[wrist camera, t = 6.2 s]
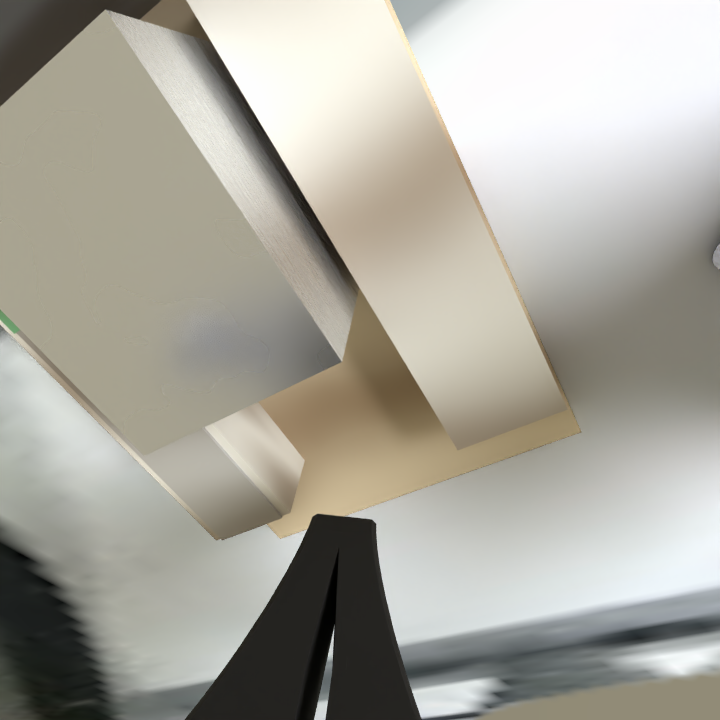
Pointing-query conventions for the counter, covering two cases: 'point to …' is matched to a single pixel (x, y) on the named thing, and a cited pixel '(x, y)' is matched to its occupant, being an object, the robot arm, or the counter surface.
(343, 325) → the grey box
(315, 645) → the robot arm
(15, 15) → the stand
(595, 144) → the counter surface
